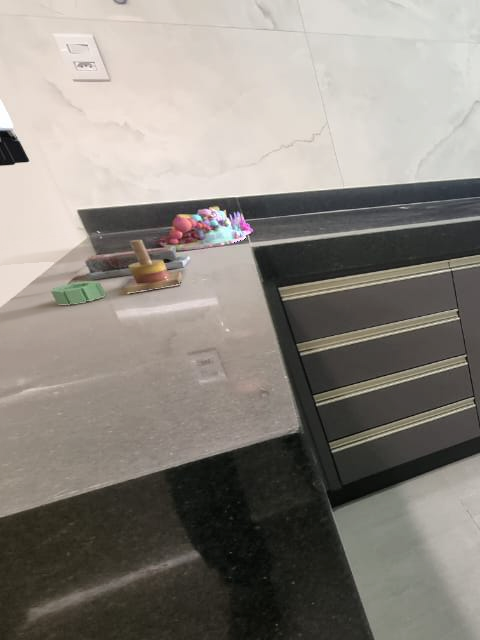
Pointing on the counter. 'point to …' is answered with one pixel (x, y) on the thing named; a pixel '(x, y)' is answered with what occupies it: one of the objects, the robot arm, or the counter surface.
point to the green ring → (78, 292)
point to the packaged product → (130, 262)
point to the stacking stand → (149, 271)
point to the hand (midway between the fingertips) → (11, 164)
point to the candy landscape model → (205, 230)
